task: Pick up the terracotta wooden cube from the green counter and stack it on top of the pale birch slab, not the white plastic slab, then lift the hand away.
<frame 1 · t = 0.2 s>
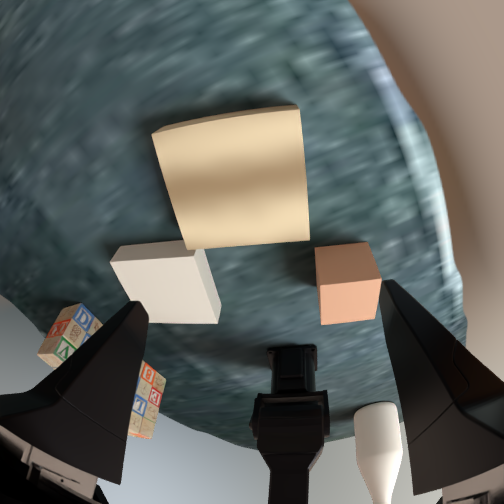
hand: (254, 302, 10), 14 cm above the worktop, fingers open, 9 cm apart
stack of blocks: (116, 346, 41), on the worktop
terracotta cube: (341, 265, 26), on the worktop
wine bottle: (374, 408, 49), on the worktop
white plastic slab: (172, 274, 29), on the worktop
birch slab: (239, 172, 22), on the worktop
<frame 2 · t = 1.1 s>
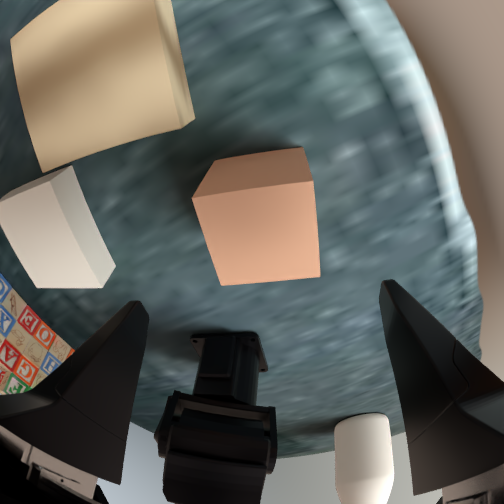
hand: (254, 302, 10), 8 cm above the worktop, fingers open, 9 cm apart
stack of blocks: (42, 327, 31), on the worktop
terracotta cube: (265, 192, 17), on the worktop
wine bottle: (361, 420, 39), on the worktop
white plastic slab: (59, 224, 20), on the worktop
birch slab: (104, 65, 12), on the worktop
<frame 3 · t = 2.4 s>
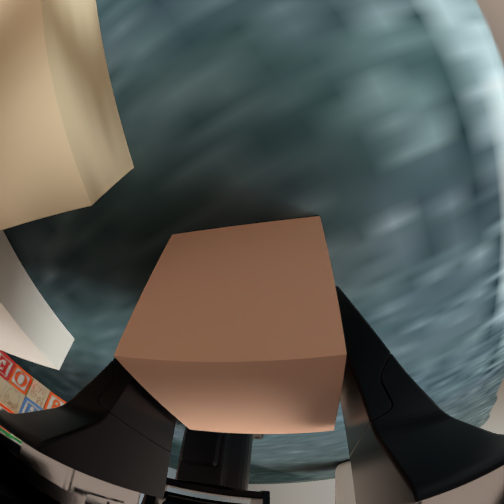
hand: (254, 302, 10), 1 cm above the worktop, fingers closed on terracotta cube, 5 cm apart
stack of blocks: (19, 368, 25), on the worktop
terracotta cube: (256, 282, 11), on the worktop, touching gripper
wine bottle: (363, 459, 33), on the worktop
white plastic slab: (8, 284, 14), on the worktop
birch slab: (14, 86, 6), on the worktop
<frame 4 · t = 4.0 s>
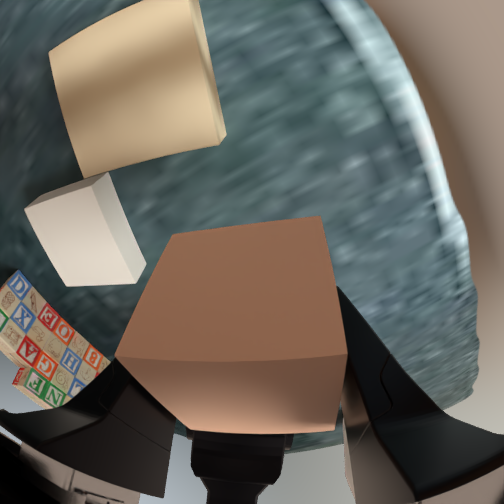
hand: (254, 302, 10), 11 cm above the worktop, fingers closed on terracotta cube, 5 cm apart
stack of blocks: (60, 324, 34), on the worktop
terracotta cube: (256, 281, 11), point 10 cm above the worktop, touching gripper
wine bottle: (367, 410, 42), on the worktop
white plastic slab: (91, 226, 23), on the worktop
birch slab: (142, 82, 15), on the worktop
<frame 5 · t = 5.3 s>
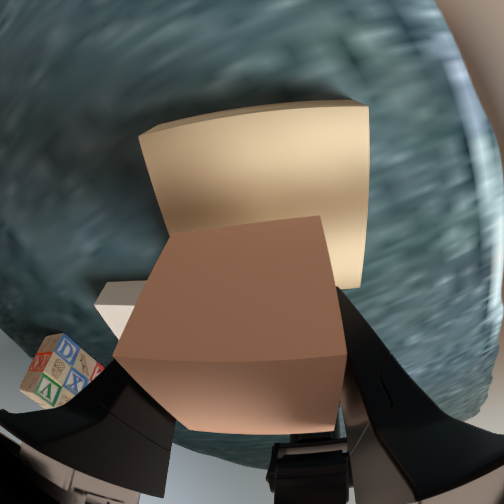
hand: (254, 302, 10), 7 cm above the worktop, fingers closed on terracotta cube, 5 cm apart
stack of blocks: (108, 377, 34), on the worktop
terracotta cube: (255, 281, 11), point 6 cm above the worktop, touching gripper
white plastic slab: (174, 315, 23), on the worktop
birch slab: (266, 192, 16), on the worktop
when the fingers open (5 cm above the worktop, at t = 6.0 s): terracotta cube drops 2 cm, resting on birch slab.
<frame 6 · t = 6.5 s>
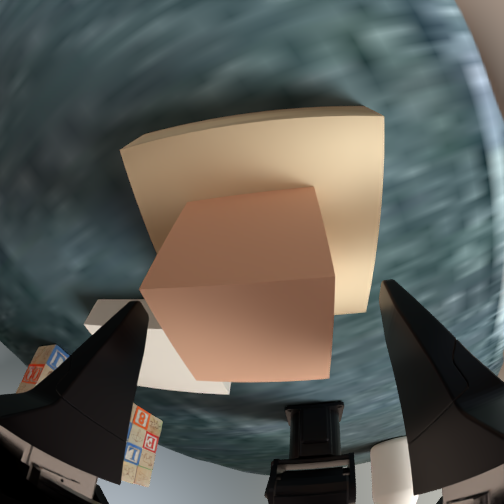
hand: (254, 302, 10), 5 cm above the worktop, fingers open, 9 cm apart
stack of blocks: (103, 388, 32), on the worktop
terracotta cube: (258, 246, 12), point 2 cm above the worktop, touching birch slab
wine bottle: (392, 441, 41), on the worktop
white plastic slab: (168, 334, 22), on the worktop
birch slab: (265, 208, 14), on the worktop, touching terracotta cube
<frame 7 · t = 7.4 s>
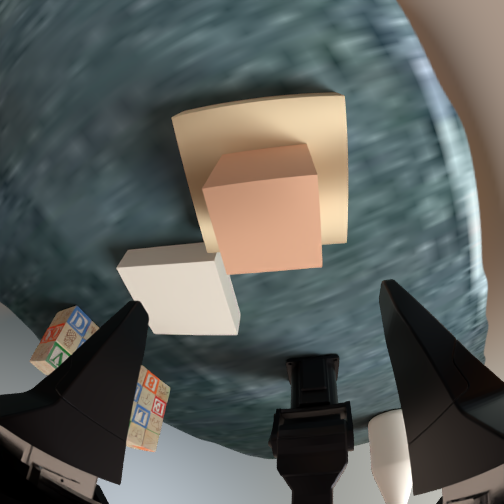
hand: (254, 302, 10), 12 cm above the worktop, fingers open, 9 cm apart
stack of blocks: (116, 353, 37), on the worktop
terracotta cube: (270, 186, 17), point 2 cm above the worktop, touching birch slab
wine bottle: (389, 415, 46), on the worktop
white plastic slab: (186, 281, 27), on the worktop
birch slab: (268, 165, 19), on the worktop, touching terracotta cube
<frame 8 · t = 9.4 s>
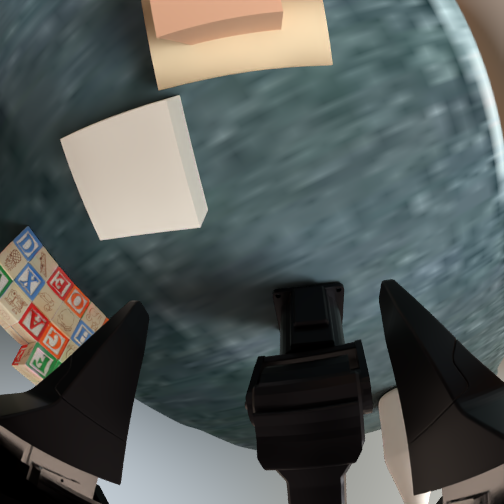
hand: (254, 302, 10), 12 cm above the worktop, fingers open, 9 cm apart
stack of blocks: (72, 295, 30), on the worktop
wine bottle: (402, 392, 39), on the worktop
white plastic slab: (141, 164, 20), on the worktop
birch slab: (235, 6, 13), on the worktop, touching terracotta cube
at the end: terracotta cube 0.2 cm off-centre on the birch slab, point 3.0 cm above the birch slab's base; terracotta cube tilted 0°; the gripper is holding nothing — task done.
